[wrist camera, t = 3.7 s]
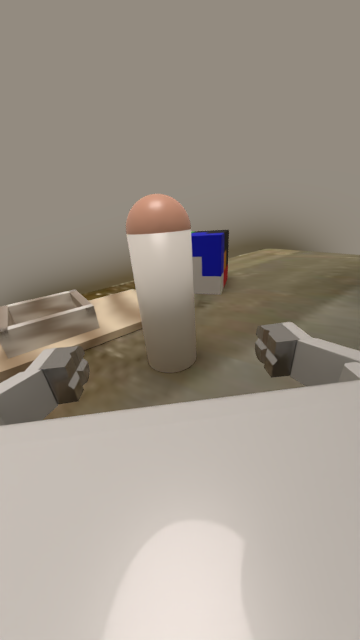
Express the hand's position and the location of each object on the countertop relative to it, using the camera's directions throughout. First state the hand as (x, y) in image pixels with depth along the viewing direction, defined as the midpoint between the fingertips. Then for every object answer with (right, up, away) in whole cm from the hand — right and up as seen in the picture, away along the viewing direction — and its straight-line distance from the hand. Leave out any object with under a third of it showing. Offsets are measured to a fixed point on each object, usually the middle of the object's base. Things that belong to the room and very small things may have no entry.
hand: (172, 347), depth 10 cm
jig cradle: (-13, +1, +20) cm, 24 cm away
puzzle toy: (+4, +8, +33) cm, 35 cm away
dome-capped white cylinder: (0, -2, +12) cm, 12 cm away
